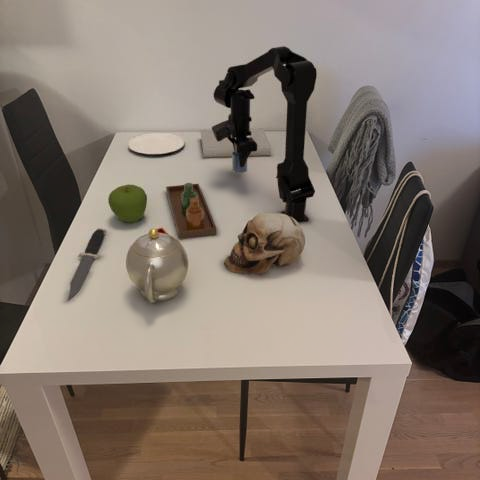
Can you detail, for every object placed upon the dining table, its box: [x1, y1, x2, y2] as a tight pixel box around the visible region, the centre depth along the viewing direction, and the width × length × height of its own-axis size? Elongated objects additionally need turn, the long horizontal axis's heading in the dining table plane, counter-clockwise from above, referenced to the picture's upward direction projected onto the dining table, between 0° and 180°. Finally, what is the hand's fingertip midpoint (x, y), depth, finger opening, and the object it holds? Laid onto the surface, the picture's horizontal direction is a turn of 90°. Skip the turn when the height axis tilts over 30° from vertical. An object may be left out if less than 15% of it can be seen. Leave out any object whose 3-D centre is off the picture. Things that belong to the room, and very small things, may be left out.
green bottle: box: [181, 182, 198, 216], centre depth 135 cm, size 5×5×8 cm
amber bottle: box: [186, 198, 205, 230], centre depth 128 cm, size 5×5×8 cm
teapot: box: [125, 226, 189, 304], centre depth 104 cm, size 18×14×16 cm
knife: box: [67, 227, 107, 301], centre depth 118 cm, size 30×2×5 cm
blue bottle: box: [231, 151, 248, 174], centre depth 149 cm, size 5×5×8 cm
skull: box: [223, 212, 306, 276], centre depth 117 cm, size 16×17×13 cm
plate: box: [127, 132, 186, 156], centre depth 176 cm, size 21×21×2 cm
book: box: [200, 128, 272, 159], centre depth 176 cm, size 18×4×24 cm
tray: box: [165, 183, 218, 240], centre depth 138 cm, size 28×10×2 cm, turn 14°
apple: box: [107, 184, 148, 224], centre depth 132 cm, size 11×10×10 cm
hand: (239, 163), depth 151 cm, fingers closed on blue bottle, 5 cm apart
